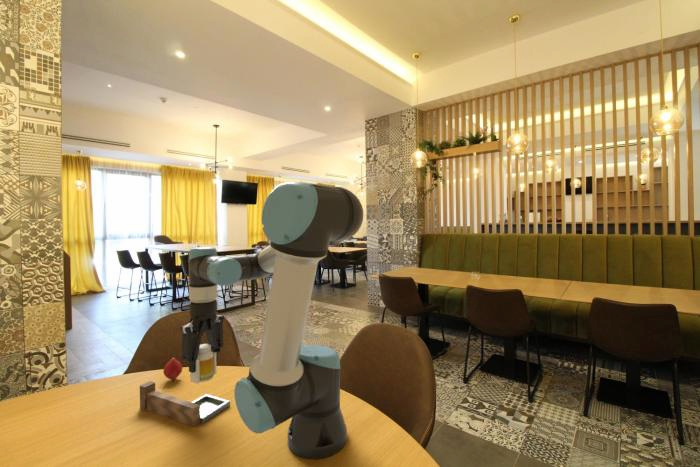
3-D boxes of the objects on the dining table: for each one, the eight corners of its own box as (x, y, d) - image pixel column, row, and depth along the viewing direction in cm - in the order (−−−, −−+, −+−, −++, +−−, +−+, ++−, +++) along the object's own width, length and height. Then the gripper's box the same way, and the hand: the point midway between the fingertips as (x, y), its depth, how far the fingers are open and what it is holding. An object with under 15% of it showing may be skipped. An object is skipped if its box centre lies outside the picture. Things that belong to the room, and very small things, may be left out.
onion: (159, 383, 114) (159, 360, 114) (171, 375, 119) (171, 354, 119) (174, 384, 113) (174, 361, 113) (185, 376, 118) (185, 355, 118)
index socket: (230, 405, 99) (229, 400, 99) (202, 423, 90) (202, 418, 90) (206, 398, 104) (206, 393, 104) (177, 415, 94) (177, 409, 94)
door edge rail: (201, 421, 91) (201, 396, 91) (192, 428, 88) (191, 402, 88) (150, 403, 101) (150, 381, 100) (140, 408, 98) (139, 385, 98)
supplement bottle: (217, 375, 99) (217, 343, 99) (206, 383, 94) (206, 350, 93) (201, 373, 100) (201, 342, 100) (189, 381, 95) (189, 348, 94)
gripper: (218, 292, 106) (219, 363, 107) (165, 305, 89) (166, 388, 90) (236, 294, 103) (236, 367, 104) (184, 308, 86) (185, 395, 87)
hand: (203, 377), depth 97 cm, fingers closed on supplement bottle, 5 cm apart
